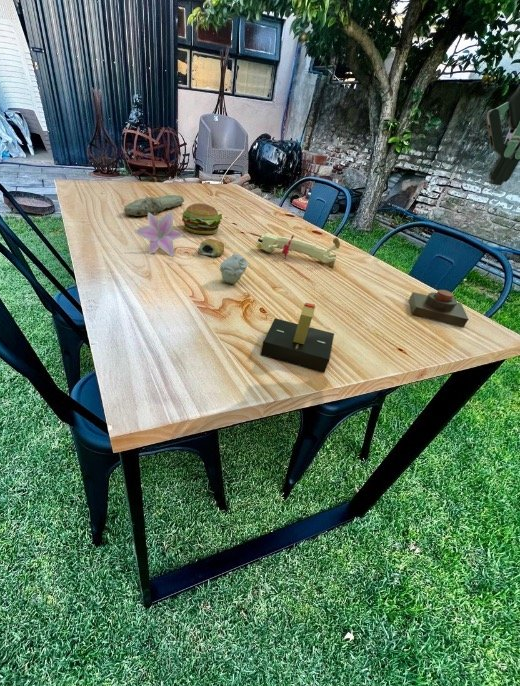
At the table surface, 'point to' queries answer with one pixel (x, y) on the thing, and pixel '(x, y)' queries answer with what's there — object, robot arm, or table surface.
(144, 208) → the elongated rock
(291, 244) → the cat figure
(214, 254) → the pastry
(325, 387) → the table surface
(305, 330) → the lock knob
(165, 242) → the lily
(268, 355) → the plate
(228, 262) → the frog figurine
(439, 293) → the bell button
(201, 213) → the food
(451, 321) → the brown base
